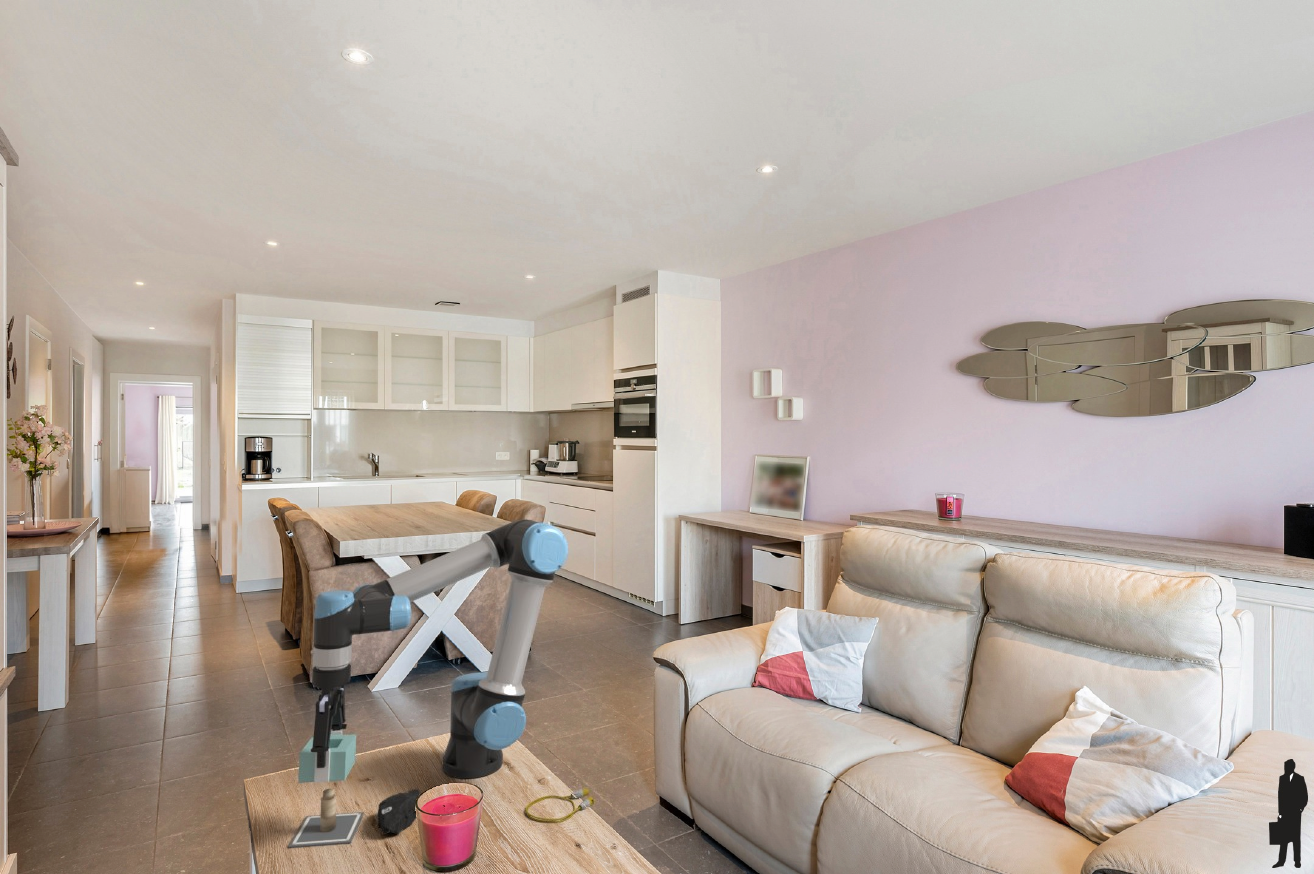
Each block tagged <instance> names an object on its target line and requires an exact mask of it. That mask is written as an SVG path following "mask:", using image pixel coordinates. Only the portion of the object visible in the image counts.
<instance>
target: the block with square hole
mask: <svg viewBox="0 0 1314 874" xmlns="http://www.w3.org/2000/svg"><path fill="white" fill-rule="evenodd" d="M313 736H314V735H312V737H311V738H310V739H309V741H307V743H306V744H305V746H304V747H303V748H302V750H301V751H300V752H299V759H298V780H297V783H299V784H304V783H314V774H315V752H311V749H312V746H313ZM356 748H357V734H354V733H353V734H342V735H330V742H329V749H330V771H329V782H344V781H346V779H347V777H348V776H349V774H350V772H351V770H352V769H353V766H354V765H355V763H356V754H357V753H356V751H357V749H356Z"/></svg>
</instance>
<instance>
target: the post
mask: <svg viewBox="0 0 1314 874" xmlns="http://www.w3.org/2000/svg"><path fill="white" fill-rule="evenodd" d="M336 814H337V795H336V794H335V788H332V787H330V788H326V789H324V790H323V792H322V797H321V798H320V814H319V815H320V831H321V832H330V831H332V830H334V829H335V828H336Z"/></svg>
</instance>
